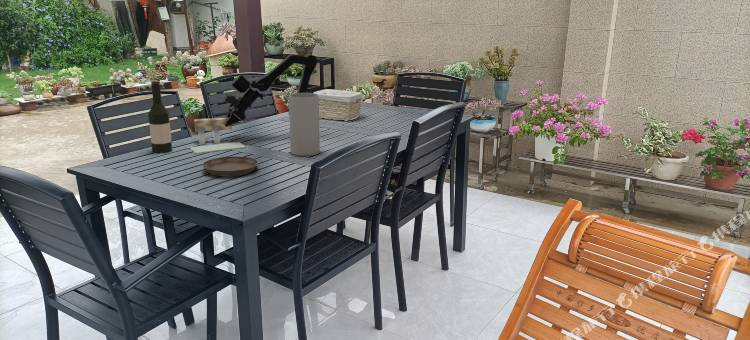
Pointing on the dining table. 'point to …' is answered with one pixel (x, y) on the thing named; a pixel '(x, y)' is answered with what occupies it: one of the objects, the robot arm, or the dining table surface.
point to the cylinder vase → (304, 124)
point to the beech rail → (212, 124)
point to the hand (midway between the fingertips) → (224, 124)
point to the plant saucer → (230, 166)
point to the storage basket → (339, 104)
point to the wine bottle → (159, 123)
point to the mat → (217, 147)
